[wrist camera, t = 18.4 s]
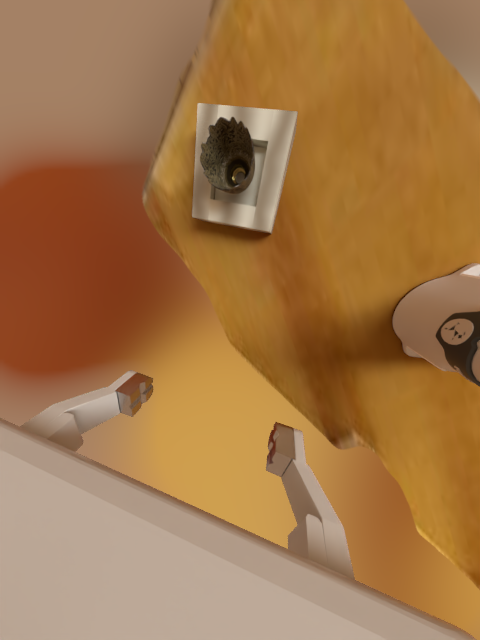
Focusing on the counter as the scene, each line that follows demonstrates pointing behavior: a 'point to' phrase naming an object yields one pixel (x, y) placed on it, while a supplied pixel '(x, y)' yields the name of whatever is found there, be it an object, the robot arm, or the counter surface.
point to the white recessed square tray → (270, 169)
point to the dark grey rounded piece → (228, 155)
